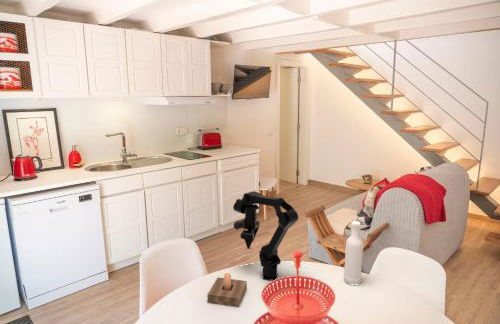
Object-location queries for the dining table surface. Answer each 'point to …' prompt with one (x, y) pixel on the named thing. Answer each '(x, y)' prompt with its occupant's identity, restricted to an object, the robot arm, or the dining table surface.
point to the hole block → (227, 293)
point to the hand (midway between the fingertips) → (250, 244)
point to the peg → (227, 281)
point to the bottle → (353, 256)
